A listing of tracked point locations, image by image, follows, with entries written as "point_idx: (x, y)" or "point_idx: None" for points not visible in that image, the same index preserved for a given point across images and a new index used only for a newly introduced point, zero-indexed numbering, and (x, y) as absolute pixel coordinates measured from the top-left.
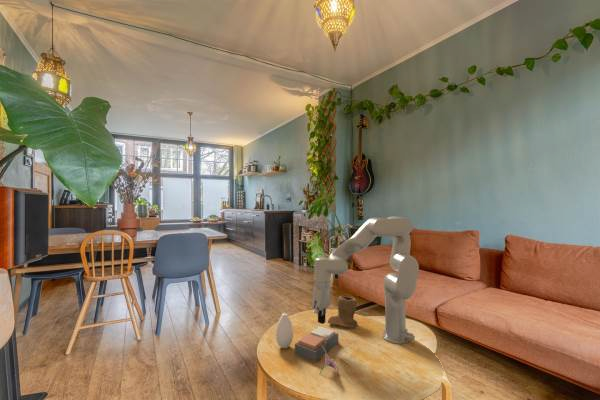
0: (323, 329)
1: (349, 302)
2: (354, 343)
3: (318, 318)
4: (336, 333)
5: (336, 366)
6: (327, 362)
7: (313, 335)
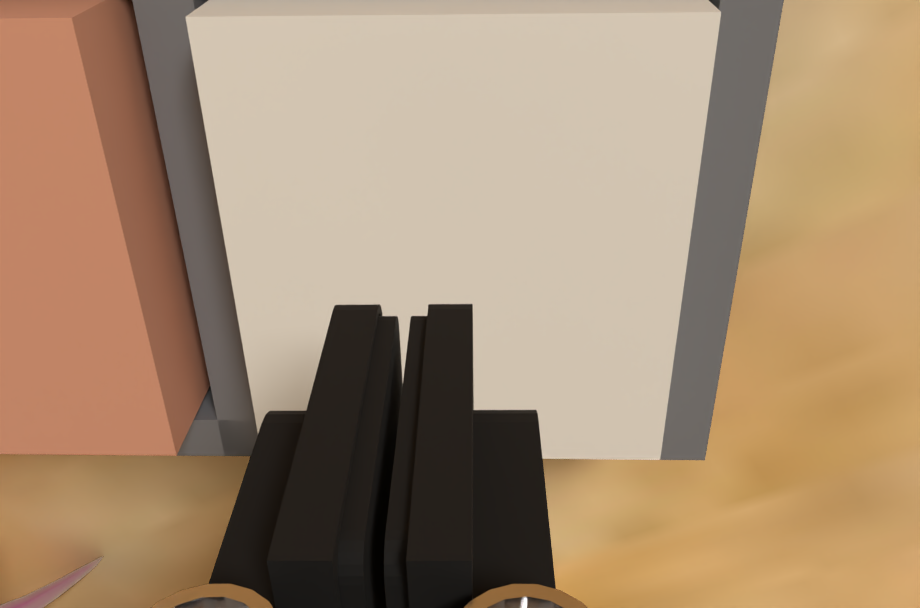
0: (574, 225)
1: None
2: (783, 522)
3: (312, 421)
4: (688, 431)
5: (46, 601)
6: None
7: (100, 191)
